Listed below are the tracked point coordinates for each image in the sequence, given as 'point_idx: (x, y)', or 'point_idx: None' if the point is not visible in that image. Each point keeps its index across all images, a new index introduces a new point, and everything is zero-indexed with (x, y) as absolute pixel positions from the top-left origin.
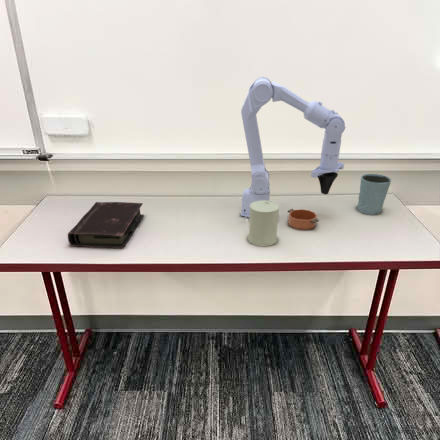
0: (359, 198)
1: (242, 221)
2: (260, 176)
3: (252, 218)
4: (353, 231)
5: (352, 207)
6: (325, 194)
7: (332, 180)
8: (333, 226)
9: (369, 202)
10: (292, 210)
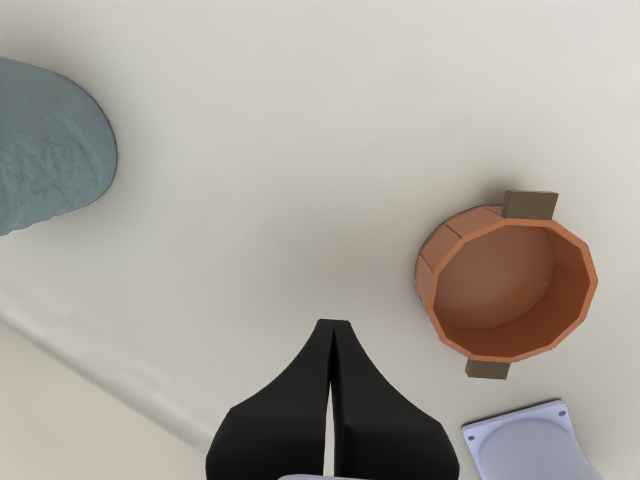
0: (56, 200)
1: (628, 446)
2: None
3: None
4: (362, 15)
5: (109, 225)
6: (349, 322)
7: (312, 388)
8: (389, 144)
9: (42, 108)
10: (489, 365)
